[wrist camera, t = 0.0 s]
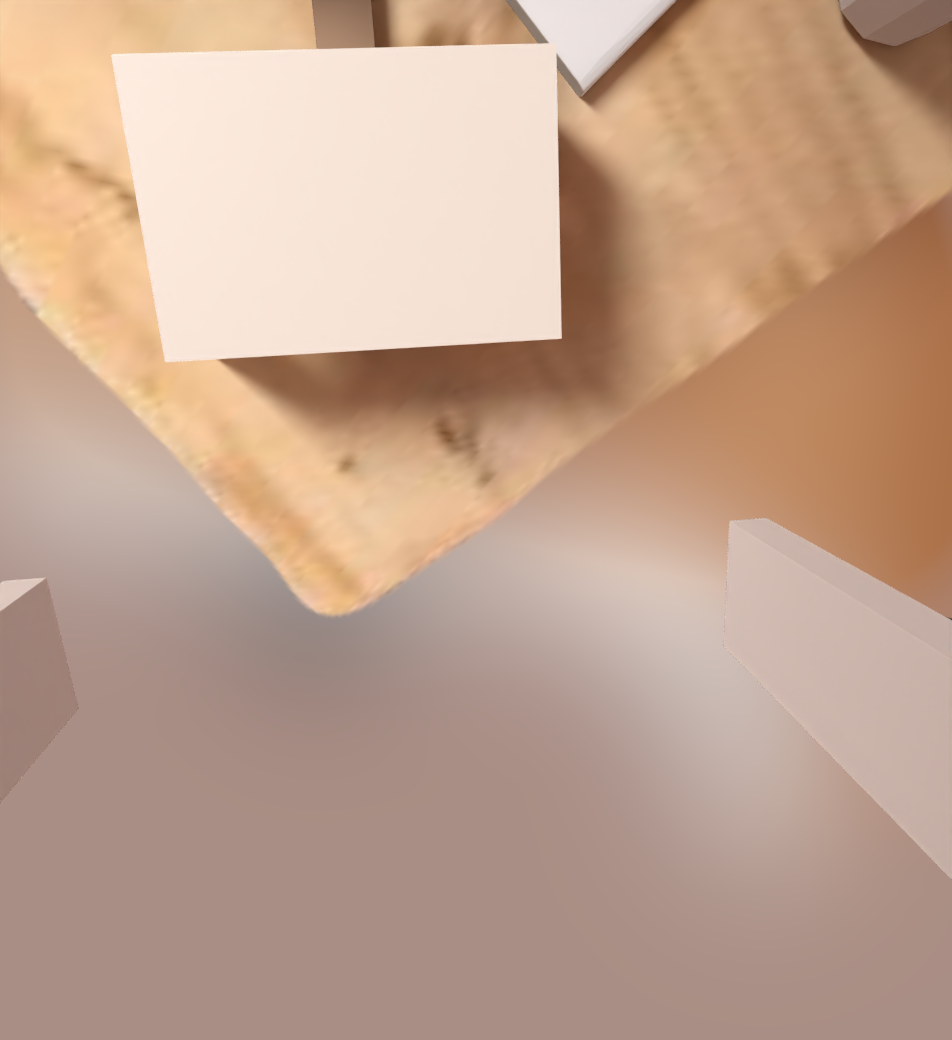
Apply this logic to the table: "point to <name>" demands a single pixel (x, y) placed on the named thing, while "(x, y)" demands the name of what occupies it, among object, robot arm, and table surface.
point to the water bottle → (896, 18)
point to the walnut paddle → (343, 24)
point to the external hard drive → (588, 32)
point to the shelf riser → (346, 196)
